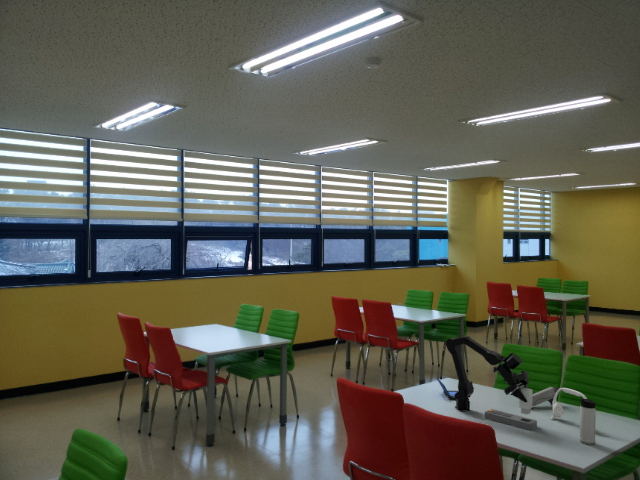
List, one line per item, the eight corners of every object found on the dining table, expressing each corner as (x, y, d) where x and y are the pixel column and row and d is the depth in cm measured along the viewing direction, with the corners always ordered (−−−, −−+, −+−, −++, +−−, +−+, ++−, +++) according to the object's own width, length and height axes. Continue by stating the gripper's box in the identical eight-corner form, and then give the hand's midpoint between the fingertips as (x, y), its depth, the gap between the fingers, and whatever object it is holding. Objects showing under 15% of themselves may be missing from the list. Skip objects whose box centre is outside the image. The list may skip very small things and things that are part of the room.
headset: (594, 429, 244) (594, 393, 245) (585, 432, 241) (585, 395, 241) (557, 417, 262) (558, 383, 262) (549, 419, 258) (549, 385, 259)
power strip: (484, 417, 259) (484, 410, 259) (491, 414, 265) (491, 407, 265) (530, 430, 242) (530, 423, 242) (536, 426, 248) (536, 419, 248)
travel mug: (576, 440, 231) (576, 397, 231) (589, 439, 231) (590, 397, 232) (584, 445, 224) (584, 401, 225) (598, 445, 225) (598, 401, 225)
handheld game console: (465, 400, 289) (465, 384, 289) (443, 400, 289) (443, 384, 289) (458, 392, 305) (458, 377, 305) (436, 392, 304) (436, 377, 305)
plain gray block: (519, 412, 248) (519, 389, 248) (523, 410, 251) (523, 387, 251) (528, 415, 245) (528, 391, 245) (532, 413, 248) (532, 389, 248)
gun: (562, 402, 284) (559, 385, 283) (528, 416, 275) (525, 399, 275) (558, 401, 286) (555, 384, 286) (525, 415, 278) (522, 398, 277)
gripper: (510, 368, 244) (532, 396, 237) (526, 362, 258) (547, 388, 250) (495, 381, 250) (516, 408, 242) (511, 374, 263) (531, 400, 255)
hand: (528, 401), depth 247 cm, fingers closed on plain gray block, 5 cm apart
